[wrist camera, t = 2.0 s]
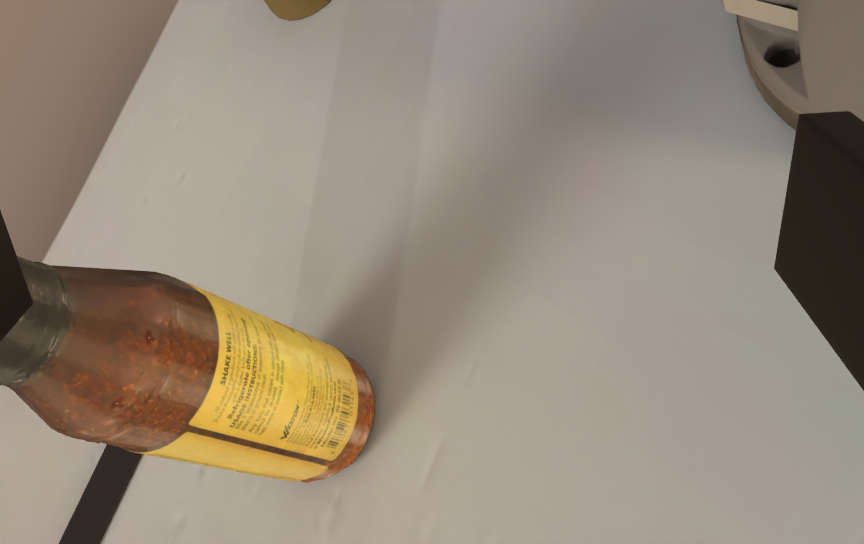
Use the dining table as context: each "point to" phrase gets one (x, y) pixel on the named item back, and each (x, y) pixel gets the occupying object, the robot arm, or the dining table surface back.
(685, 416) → the dining table surface
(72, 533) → the strip
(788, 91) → the robot arm
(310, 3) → the brown pawn
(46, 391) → the sauce bottle
